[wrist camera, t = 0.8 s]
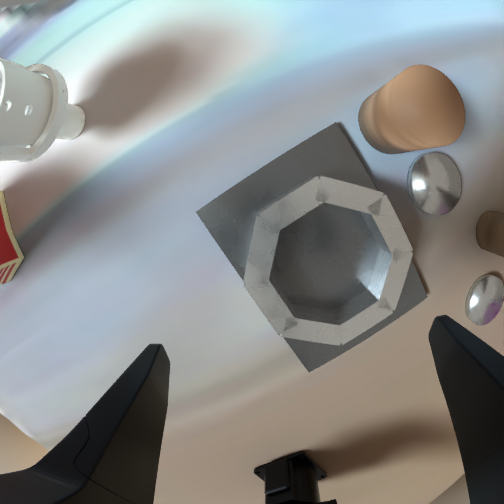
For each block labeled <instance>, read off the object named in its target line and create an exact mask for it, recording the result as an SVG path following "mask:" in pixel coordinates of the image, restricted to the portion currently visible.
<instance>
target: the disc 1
mask: <svg viewBox="0 0 504 504" xmlns="http://www.w3.org/2000/svg"><path fill="white" fill-rule="evenodd" d="M407 186H408V191H409V195H410V197H411V199H412V201H413V203H414V204H415V205H416V206H417V207H418V208H419V209H420V210H421V211H423V212H425V213H429V214H433V215H443V214H446V213H448V212H449V211H451V210H452V209H453V208H454V207H455V205H456V204H457V202H458V200H459V197H460V193H461V179H460V175H459V172H458V169H457V167H456V165H455V164H454V163H453V161H452V160H451V159H450V158H449V157H447V156H446V155H444V154H441V153H437V152H432V153H425V154H422V155H420V156H419V157H417V158H416V159H415V160H414V161H413V163H412V164H411V166H410V169H409V172H408V177H407Z"/></svg>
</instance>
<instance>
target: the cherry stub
mask: <svg viewBox="0 0 504 504" xmlns="http://www.w3.org/2000/svg"><path fill="white" fill-rule="evenodd" d="M358 121H359V126H360V130H361V132H362V134H363V136H364V138H365V139H366V141H367V142H368V143H369V144H370V145H371V146H372V147H373V148H375V149H376V150H378V151H380V152H382V153H386V154H398V153H404V152H409V151H415V150H421V149H427V148H434V147H440V146H446V145H449V144H451V143H453V142H455V141H456V140H457V139H458V138H459V136H460V135H461V133H462V131H463V128H464V124H465V109H464V105H463V101H462V98H461V96H460V94H459V92H458V90H457V88H456V87H455V85H454V84H453V83H452V81H451V80H450V79H449V78H448V77H447V76H446V75H444V74H443V73H442V72H440V71H439V70H437V69H435V68H433V67H430V66H427V65H414V66H411V67H409V68H407V69H405V70H404V71H403V72H401V73H400V74H398V75H397V76H396V77H394V78H393V79H392V80H390V81H389V82H388V83H386V84H385V85H384V86H382V87H381V88H380V89H378V90H377V91H376V92H374V93H373V94H372V95H370V96H369V97H368V98H367V99H366V100H365V101H364V102H363V103H362V105H361V107H360V110H359V116H358Z"/></svg>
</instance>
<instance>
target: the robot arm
mask: <svg viewBox="0 0 504 504" xmlns="http://www.w3.org/2000/svg"><path fill="white" fill-rule="evenodd" d="M429 342H430V346H431V350H432V354H433V358H434V362H435V366H436V370H437V374H438V378H439V381H440V384H441V387H442V390H443V393H444V396H445V399H446V403H447V406H448V409H449V412H450V416H451V419H452V423H453V426H454V430H455V434H456V437H457V441H458V445H459V449H460V453H461V458H462V462H463V466H464V471H465V473H466V474H465V476H466V482H467V487H468V492H469V498H470V504H504V356H502V355H501V354H500V353H498V352H497V351H496V350H494V349H493V348H492V347H490V346H489V345H488V344H486V343H485V342H484V341H482V340H481V339H480V338H478V337H477V336H475V335H474V334H473V333H471V332H470V331H469V330H467V329H466V328H464V327H463V326H462V325H460V324H459V323H457V322H456V321H454V320H453V319H452V318H450V317H449V316H447V315H441V316H437V317H436V318H435V319H434V321H433V324H432V326H431V329H430V332H429ZM169 374H170V361H169V358H168V356H167V354H166V351H165V349H164V347H163V345H162V344H149V345H148V346H147V347H146V348H145V349H144V350H143V352H142V353H141V354H140V355H139V356H138V357H137V358H136V359H135V360H134V362H133V363H132V364H131V365H130V366H129V367H128V368H127V369H126V370H125V372H124V373H123V374H122V375H121V376H120V377H119V378H118V379H117V380H116V382H115V383H114V384H113V385H112V386H111V387H110V388H109V389H108V391H107V392H106V393H105V394H104V395H103V396H102V397H101V398H100V399H99V401H98V402H97V403H96V404H95V405H94V406H93V407H92V408H91V410H90V411H89V412H88V413H87V414H86V417H83V419H82V420H81V421H80V422H79V423H78V424H77V425H76V426H75V427H74V428H73V430H72V431H71V432H70V433H69V434H68V435H67V436H66V437H65V438H64V439H63V440H62V441H61V442H59V443H58V444H57V445H56V446H55V447H54V448H53V449H52V450H51V451H50V452H49V453H47V455H45V456H44V457H43V458H42V459H41V460H40V461H39V462H37V463H36V464H35V465H33V466H32V467H30V468H27V469H25V470H21V471H16V472H11V473H6V474H0V504H153V501H154V493H155V485H156V478H157V471H158V464H159V457H160V450H161V444H162V437H163V431H164V425H165V419H166V413H167V406H168V391H169ZM254 474H256V475H257V476H258V477H260V478H261V479H262V480H263V481H265V504H337V502H336V499H334V500H330V501H325V502H320V495H319V488H318V482H317V481H318V480H321V479H324V478H326V477H327V473H326V472H325V471H324V470H323V469H322V468H321V467H320V466H319V465H317V464H316V463H315V462H314V461H313V460H312V459H311V458H310V457H309V456H308V455H307V454H306V453H305V452H298V453H296V454H293V455H291V456H288V457H286V458H283V459H280V460H278V461H275V462H272V463H269V464H266V465H263V466H260V467H257V468H255V469H254Z"/></svg>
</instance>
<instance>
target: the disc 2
mask: <svg viewBox="0 0 504 504" xmlns="http://www.w3.org/2000/svg"><path fill="white" fill-rule="evenodd" d="M503 300H504V285H503V282H502V281H501V280H500V279H499V278H498V277H496V276H494V275H492V274H485V275H483V276H481V277H479V278H478V279H477V280H476V281H475V282H474V284H473V285H472V286H471V288H470V290H469V292H468V295H467V298H466V303H465V311H466V315H467V317H468V318H469V319H470V320H471V321H472V322H473V323H475V324H476V325H485V324H487V323H489V322H490V321H491V320H493V319H494V318H495V316H496V315H497V314H498V312H499V310H500V308H501V306H502V304H503Z"/></svg>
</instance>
